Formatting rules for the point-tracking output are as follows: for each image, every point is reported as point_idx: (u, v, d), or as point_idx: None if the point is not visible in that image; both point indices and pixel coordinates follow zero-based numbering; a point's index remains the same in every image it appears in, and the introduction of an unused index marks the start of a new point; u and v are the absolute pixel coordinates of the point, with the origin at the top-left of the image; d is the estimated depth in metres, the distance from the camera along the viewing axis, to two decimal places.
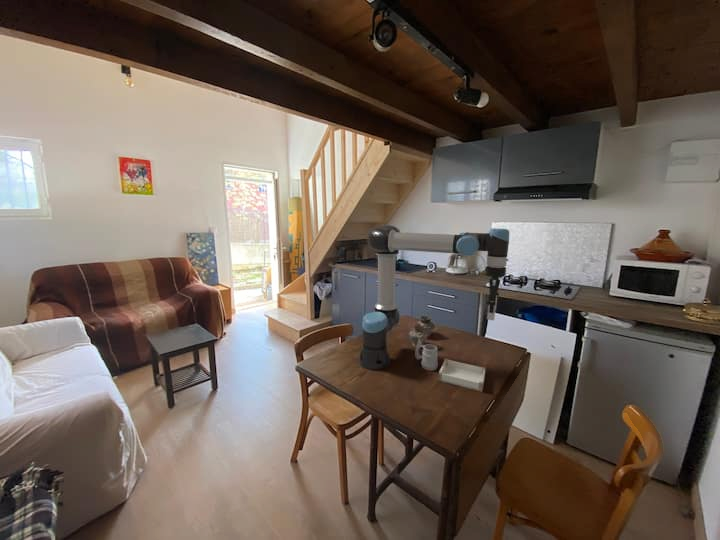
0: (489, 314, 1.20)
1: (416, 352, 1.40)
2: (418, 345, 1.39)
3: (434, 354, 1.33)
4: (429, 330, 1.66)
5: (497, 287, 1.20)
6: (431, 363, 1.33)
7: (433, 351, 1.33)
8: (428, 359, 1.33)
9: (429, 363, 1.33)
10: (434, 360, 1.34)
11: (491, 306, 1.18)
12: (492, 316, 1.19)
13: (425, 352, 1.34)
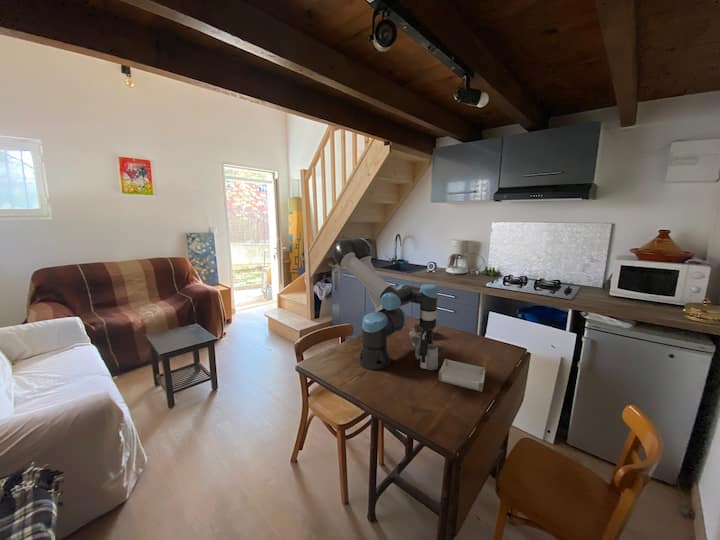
0: (421, 363, 1.34)
1: (416, 352, 1.41)
2: (418, 345, 1.39)
3: (434, 354, 1.33)
4: None
5: (428, 339, 1.33)
6: (431, 363, 1.34)
7: (434, 351, 1.33)
8: (428, 359, 1.34)
9: (430, 362, 1.34)
10: (434, 360, 1.34)
11: (422, 357, 1.32)
12: (424, 365, 1.34)
13: None
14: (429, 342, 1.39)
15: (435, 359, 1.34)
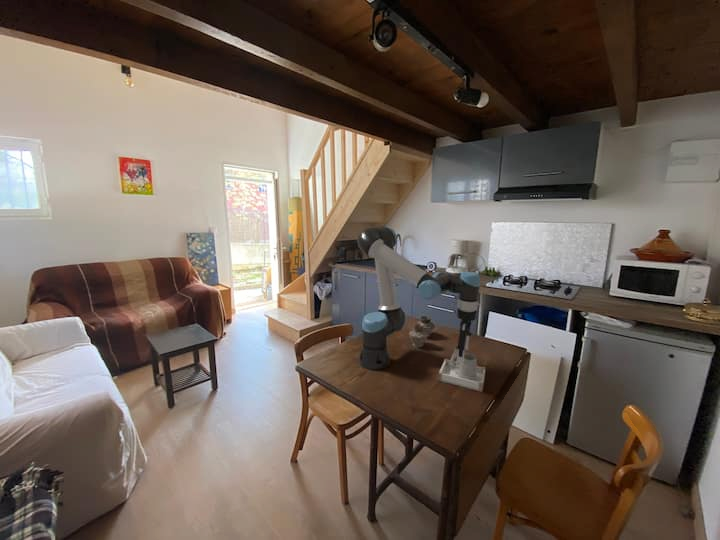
0: (458, 357, 1.20)
1: (452, 361, 1.30)
2: (454, 354, 1.29)
3: (473, 365, 1.22)
4: (429, 330, 1.66)
5: (467, 331, 1.20)
6: (469, 374, 1.23)
7: (473, 361, 1.22)
8: (466, 370, 1.23)
9: (468, 374, 1.23)
10: (473, 371, 1.23)
11: (460, 350, 1.18)
12: (461, 360, 1.19)
13: None
14: None
15: (474, 370, 1.23)
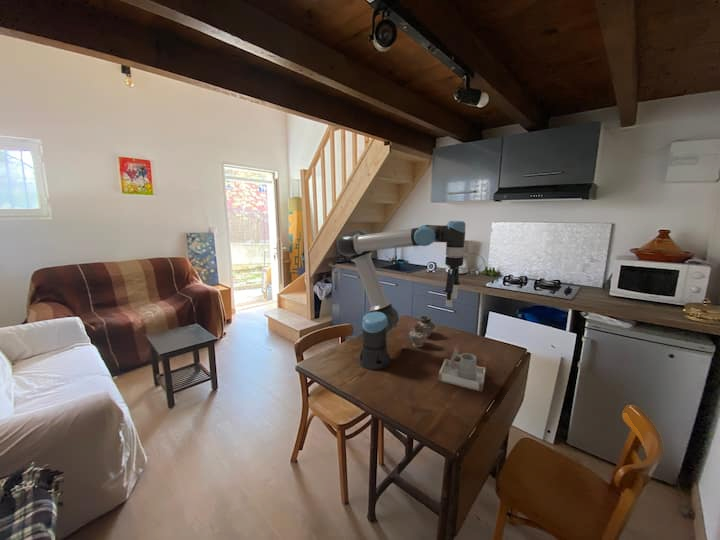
0: (447, 301, 1.27)
1: (452, 362, 1.30)
2: (454, 354, 1.29)
3: (473, 364, 1.22)
4: (429, 330, 1.66)
5: (455, 276, 1.27)
6: (469, 374, 1.23)
7: (472, 361, 1.22)
8: (466, 370, 1.23)
9: (468, 374, 1.23)
10: (473, 371, 1.23)
11: (448, 293, 1.25)
12: (450, 303, 1.27)
13: (463, 362, 1.24)
14: (455, 280, 1.36)
15: (474, 370, 1.23)
